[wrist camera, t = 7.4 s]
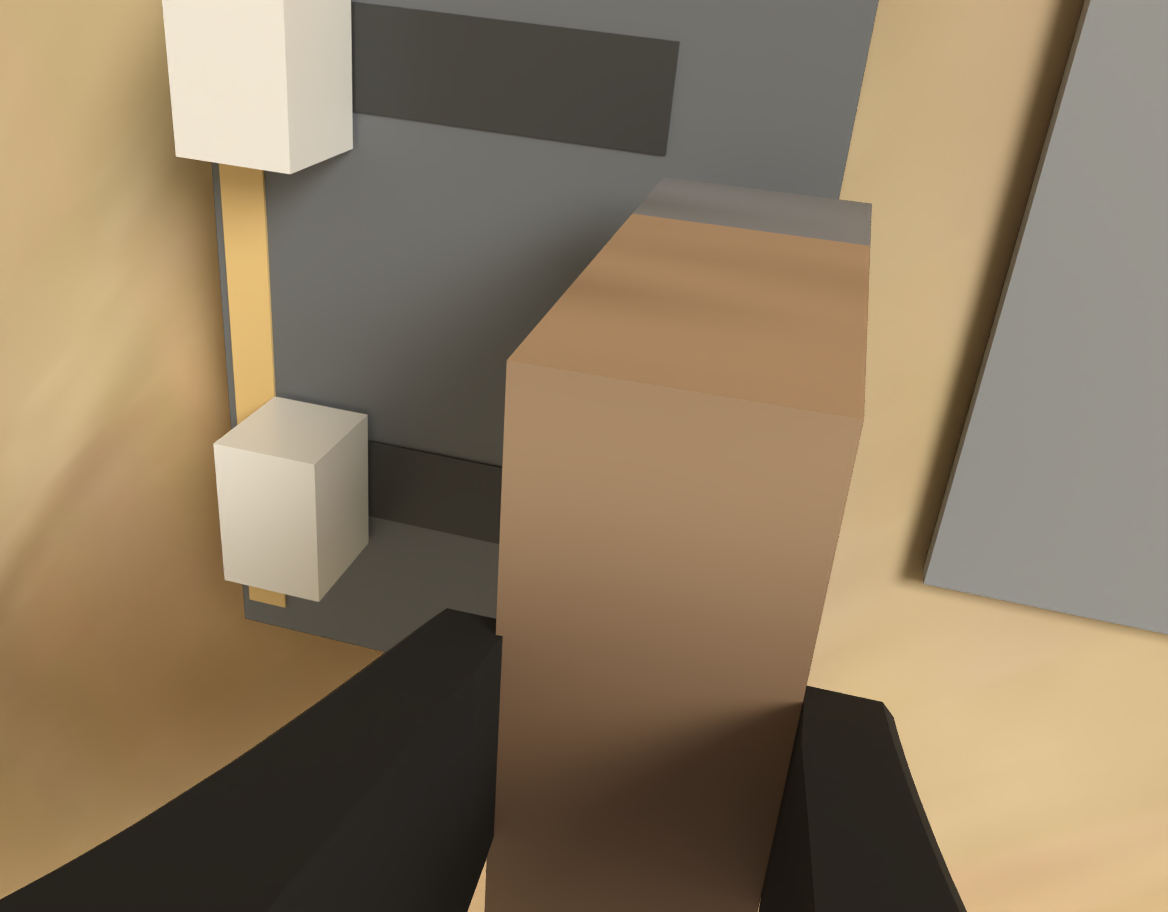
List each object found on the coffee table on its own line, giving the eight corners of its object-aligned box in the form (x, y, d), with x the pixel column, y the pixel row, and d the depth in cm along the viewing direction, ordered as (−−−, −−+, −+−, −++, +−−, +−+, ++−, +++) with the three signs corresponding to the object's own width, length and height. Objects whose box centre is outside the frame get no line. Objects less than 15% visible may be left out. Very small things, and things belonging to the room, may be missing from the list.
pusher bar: (775, 686, 15) (720, 1082, 10) (613, 651, 16) (480, 1014, 10) (872, 204, 12) (863, 420, 7) (663, 176, 12) (507, 359, 7)
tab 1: (352, 148, 15) (290, 174, 13) (248, 133, 15) (176, 156, 14) (350, -39, 14) (281, -36, 12) (238, -53, 14) (158, -50, 12)
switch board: (741, 680, 19) (730, 736, 18) (285, 575, 21) (243, 620, 19) (888, -57, 14) (889, -55, 12) (250, -121, 15) (187, -126, 14)
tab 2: (368, 543, 18) (318, 601, 16) (281, 523, 18) (224, 580, 17) (367, 414, 17) (314, 464, 15) (274, 396, 17) (213, 443, 15)
